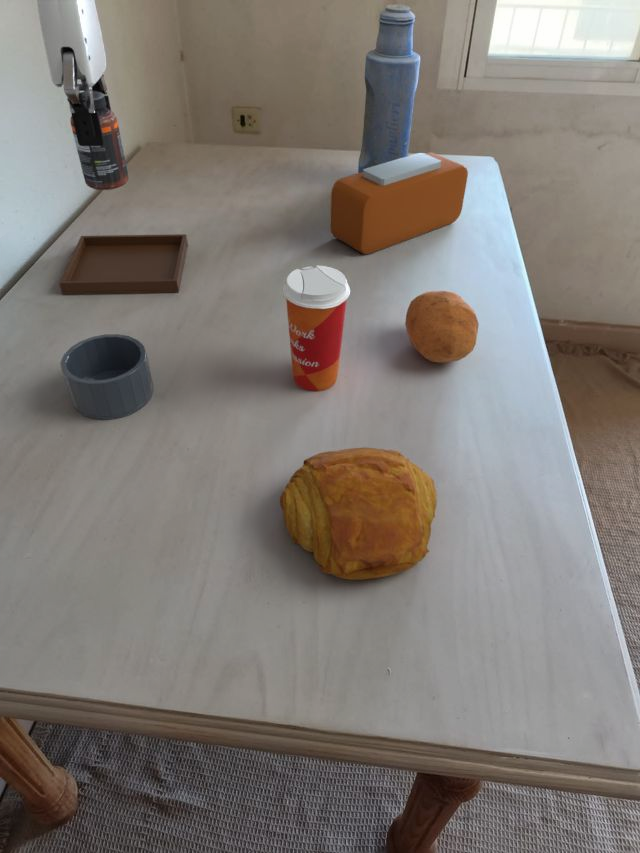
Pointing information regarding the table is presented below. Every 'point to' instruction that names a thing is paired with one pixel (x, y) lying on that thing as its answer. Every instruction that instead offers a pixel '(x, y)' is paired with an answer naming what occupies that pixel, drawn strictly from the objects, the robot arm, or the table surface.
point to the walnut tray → (125, 265)
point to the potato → (441, 326)
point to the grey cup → (107, 376)
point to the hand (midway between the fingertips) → (96, 134)
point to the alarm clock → (397, 201)
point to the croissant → (360, 511)
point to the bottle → (389, 89)
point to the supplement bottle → (103, 151)
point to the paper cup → (316, 324)
